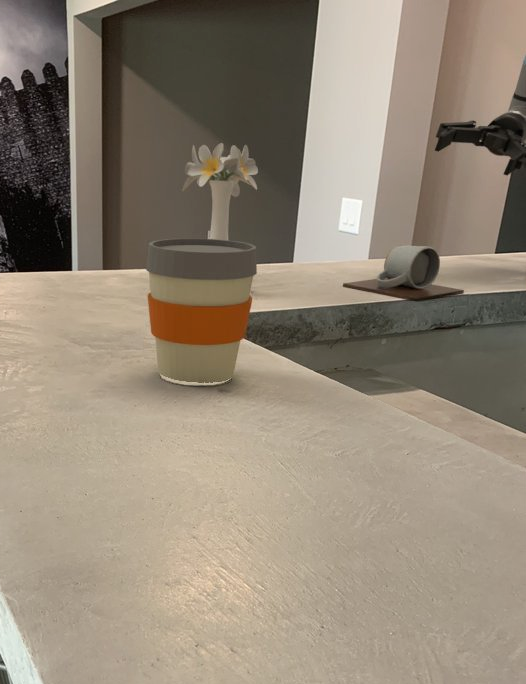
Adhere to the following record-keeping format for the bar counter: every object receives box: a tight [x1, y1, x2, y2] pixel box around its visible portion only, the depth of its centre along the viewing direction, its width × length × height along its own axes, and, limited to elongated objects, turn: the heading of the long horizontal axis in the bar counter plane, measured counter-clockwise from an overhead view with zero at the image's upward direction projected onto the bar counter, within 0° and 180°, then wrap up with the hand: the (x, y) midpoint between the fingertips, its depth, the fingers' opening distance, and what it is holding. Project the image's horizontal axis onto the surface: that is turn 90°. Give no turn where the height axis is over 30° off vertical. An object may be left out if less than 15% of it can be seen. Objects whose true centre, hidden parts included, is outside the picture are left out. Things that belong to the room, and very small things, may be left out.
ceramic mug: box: [376, 244, 441, 289], centre depth 146 cm, size 11×8×8 cm
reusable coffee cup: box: [145, 237, 258, 387], centre depth 89 cm, size 12×13×15 cm
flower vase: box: [181, 142, 259, 240], centre depth 137 cm, size 13×18×25 cm
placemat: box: [342, 277, 465, 302], centre depth 148 cm, size 17×15×1 cm
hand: (473, 155), depth 141 cm, fingers open, 13 cm apart
